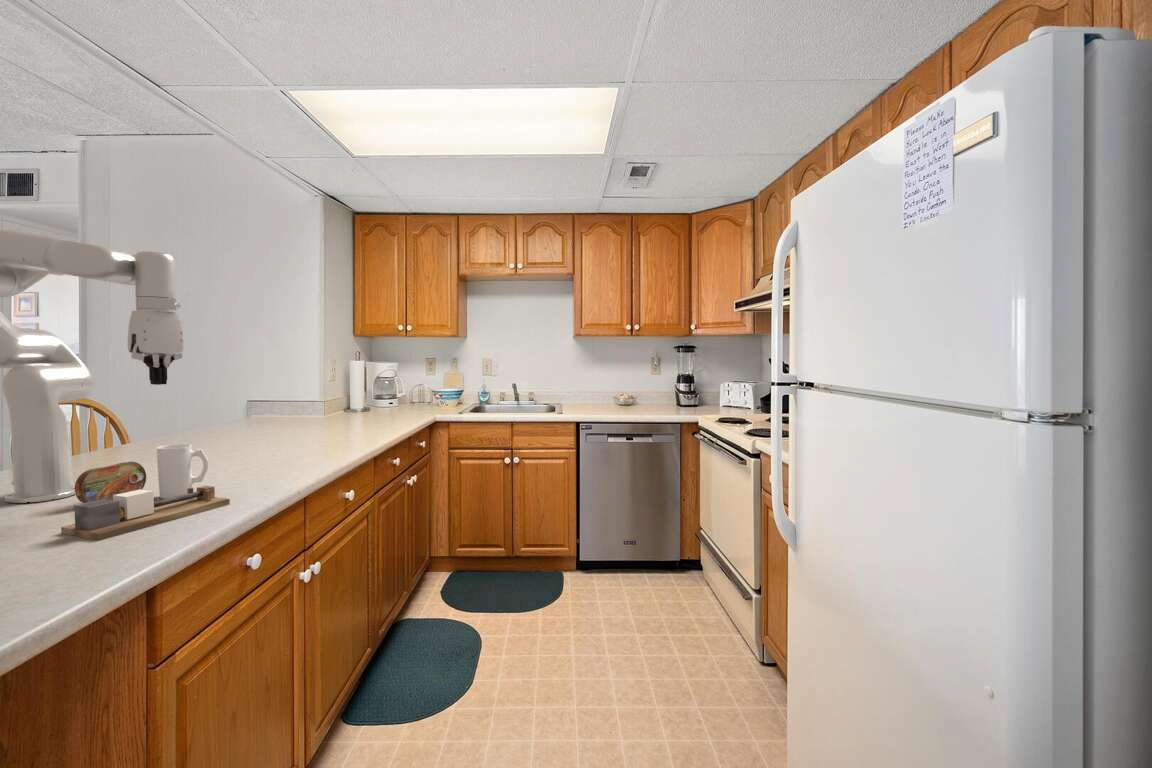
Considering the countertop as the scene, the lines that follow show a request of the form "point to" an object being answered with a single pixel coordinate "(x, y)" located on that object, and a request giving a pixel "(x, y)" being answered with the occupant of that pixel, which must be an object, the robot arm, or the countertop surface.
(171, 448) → the mug
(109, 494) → the tin
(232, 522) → the countertop surface
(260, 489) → the countertop surface
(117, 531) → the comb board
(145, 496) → the off-white block
